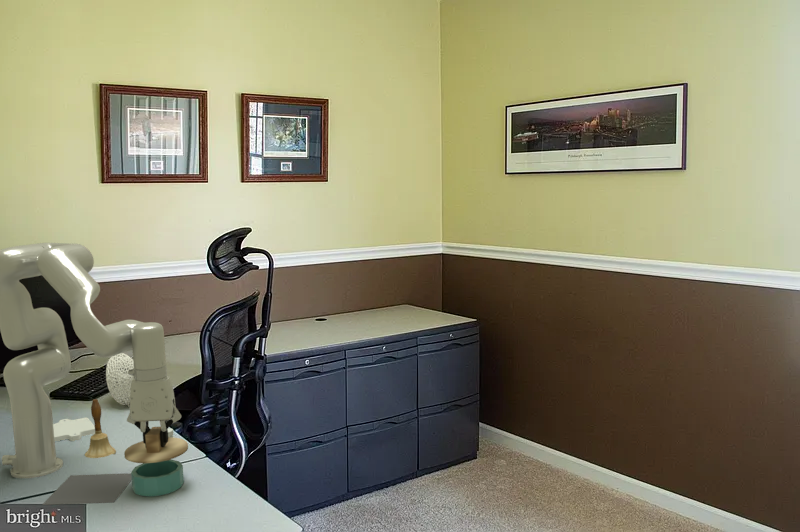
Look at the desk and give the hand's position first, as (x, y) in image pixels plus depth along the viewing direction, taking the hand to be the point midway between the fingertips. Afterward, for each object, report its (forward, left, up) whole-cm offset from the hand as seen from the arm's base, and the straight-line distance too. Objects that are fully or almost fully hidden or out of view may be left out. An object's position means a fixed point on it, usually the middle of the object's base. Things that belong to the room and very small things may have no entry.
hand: (156, 444), depth 186 cm
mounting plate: (-39, +43, -12) cm, 59 cm away
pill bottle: (-3, +20, -11) cm, 23 cm away
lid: (0, 0, -2) cm, 2 cm away
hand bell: (-23, +24, -11) cm, 35 cm away
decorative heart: (-31, +68, -11) cm, 76 cm away
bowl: (0, 0, -11) cm, 11 cm away
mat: (-17, 0, -11) cm, 20 cm away
